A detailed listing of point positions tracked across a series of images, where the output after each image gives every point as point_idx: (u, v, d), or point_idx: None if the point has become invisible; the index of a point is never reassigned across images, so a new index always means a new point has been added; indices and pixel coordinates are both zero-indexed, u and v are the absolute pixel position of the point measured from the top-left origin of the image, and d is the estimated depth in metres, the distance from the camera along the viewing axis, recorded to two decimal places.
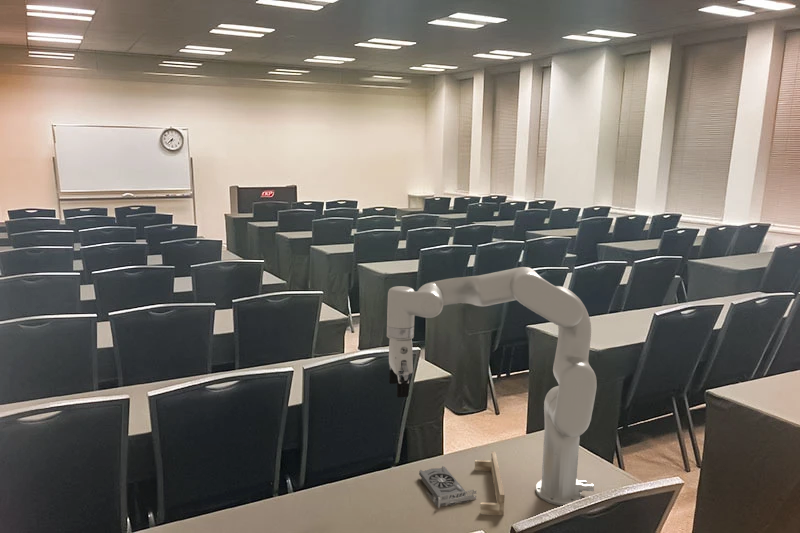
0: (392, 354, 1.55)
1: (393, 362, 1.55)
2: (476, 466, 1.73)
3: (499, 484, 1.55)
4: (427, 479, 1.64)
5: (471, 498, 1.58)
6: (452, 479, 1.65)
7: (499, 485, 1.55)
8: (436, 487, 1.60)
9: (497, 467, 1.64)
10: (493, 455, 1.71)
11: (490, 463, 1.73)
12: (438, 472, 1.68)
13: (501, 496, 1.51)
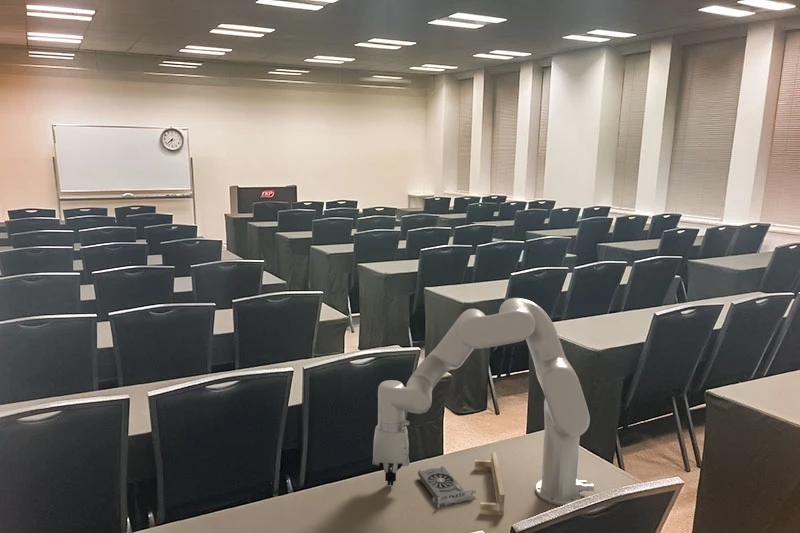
0: (395, 448, 1.60)
1: (399, 454, 1.60)
2: (476, 466, 1.73)
3: (499, 484, 1.55)
4: (426, 479, 1.64)
5: (470, 498, 1.58)
6: (451, 479, 1.66)
7: (499, 485, 1.55)
8: (435, 487, 1.60)
9: (497, 467, 1.64)
10: (493, 455, 1.71)
11: (490, 463, 1.73)
12: (437, 472, 1.68)
13: (501, 496, 1.51)
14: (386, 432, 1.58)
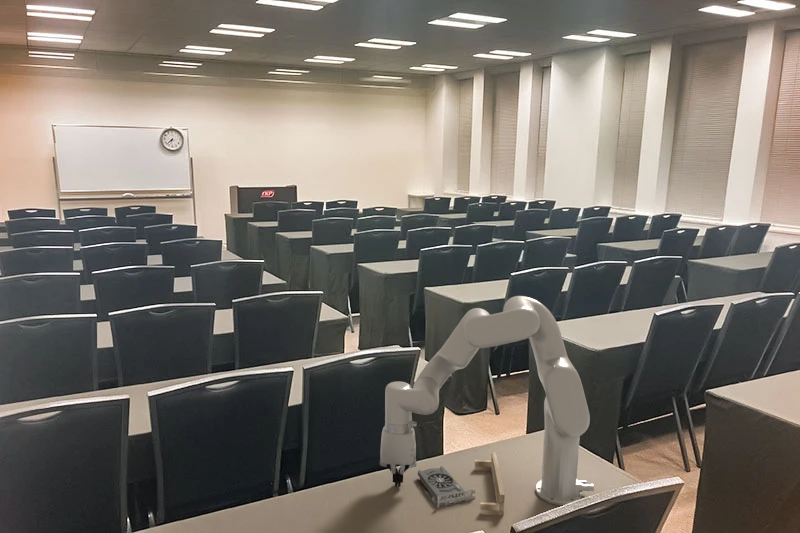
0: (403, 449, 1.60)
1: (406, 455, 1.60)
2: (476, 466, 1.73)
3: (499, 484, 1.55)
4: (426, 479, 1.64)
5: (470, 498, 1.59)
6: (451, 479, 1.66)
7: (499, 485, 1.55)
8: (435, 487, 1.60)
9: (497, 467, 1.64)
10: (493, 455, 1.71)
11: (490, 463, 1.73)
12: (436, 472, 1.68)
13: (501, 496, 1.51)
14: (393, 433, 1.58)
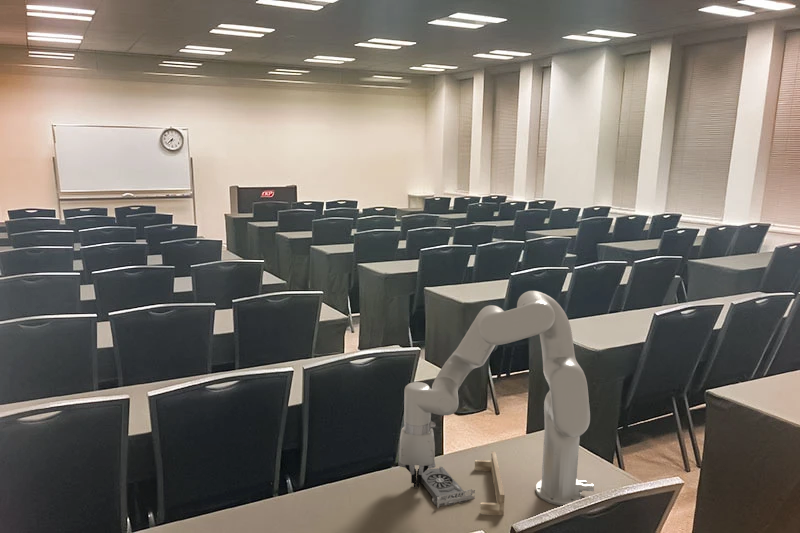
0: (422, 450, 1.59)
1: (425, 456, 1.60)
2: (476, 466, 1.73)
3: (499, 484, 1.55)
4: (425, 479, 1.64)
5: (470, 498, 1.59)
6: (450, 479, 1.66)
7: (499, 485, 1.55)
8: (435, 487, 1.60)
9: (497, 467, 1.64)
10: (493, 455, 1.71)
11: (490, 463, 1.73)
12: (436, 472, 1.68)
13: (501, 496, 1.51)
14: (413, 434, 1.57)
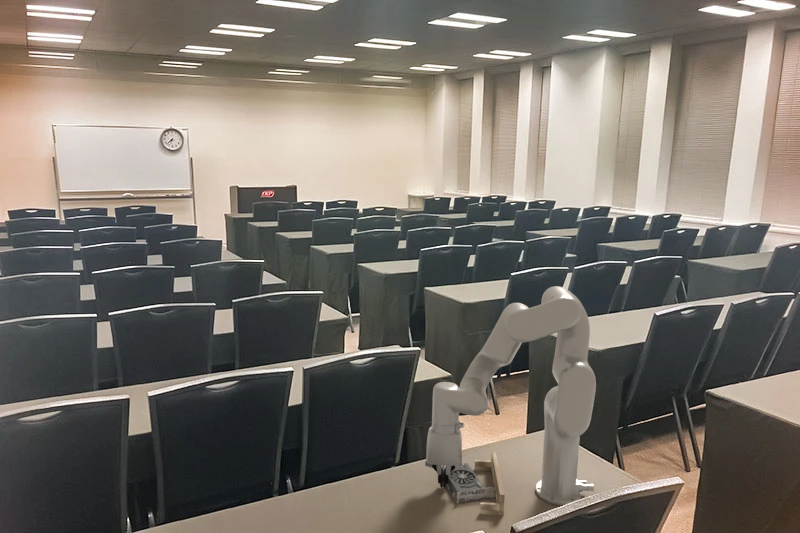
0: (450, 450, 1.59)
1: (453, 456, 1.59)
2: (476, 466, 1.73)
3: (499, 484, 1.55)
4: None
5: (490, 495, 1.60)
6: (473, 476, 1.67)
7: (499, 485, 1.55)
8: (456, 483, 1.62)
9: (497, 467, 1.64)
10: (493, 455, 1.71)
11: (490, 463, 1.73)
12: (460, 468, 1.70)
13: (501, 496, 1.51)
14: (441, 434, 1.57)
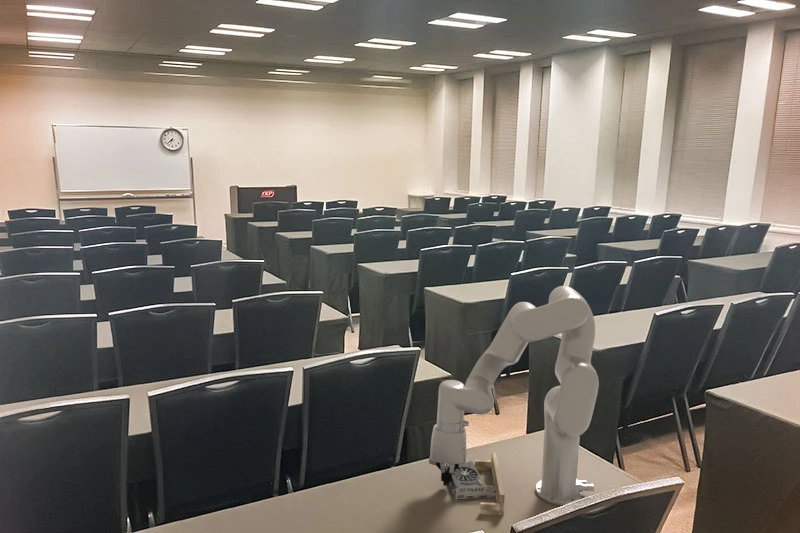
0: (454, 448, 1.59)
1: (457, 454, 1.59)
2: (476, 466, 1.73)
3: (499, 484, 1.55)
4: None
5: (490, 494, 1.60)
6: (476, 474, 1.68)
7: (499, 485, 1.55)
8: (457, 479, 1.63)
9: (497, 467, 1.64)
10: (493, 455, 1.71)
11: (490, 463, 1.73)
12: (464, 466, 1.71)
13: (501, 496, 1.51)
14: (446, 432, 1.57)
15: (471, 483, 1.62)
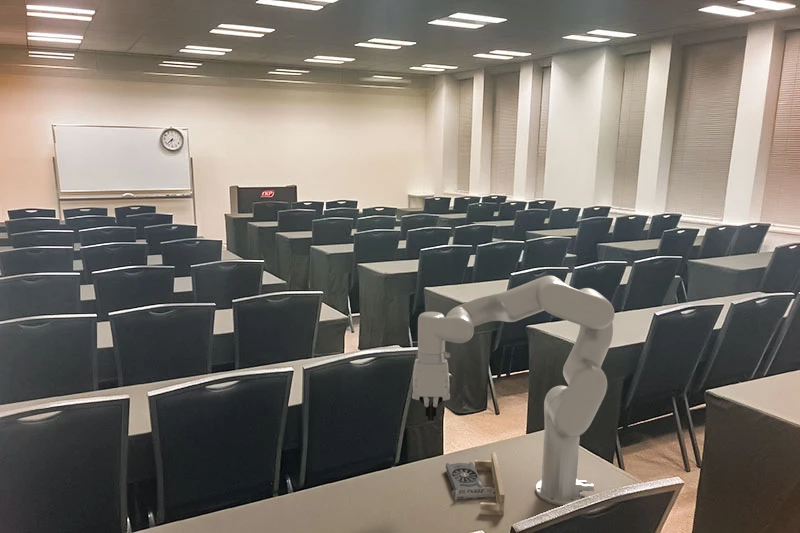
0: (436, 380, 1.55)
1: (440, 387, 1.56)
2: (476, 466, 1.73)
3: (499, 484, 1.55)
4: (450, 472, 1.68)
5: (490, 495, 1.60)
6: (476, 475, 1.68)
7: (499, 485, 1.55)
8: (457, 480, 1.63)
9: (497, 467, 1.64)
10: (493, 455, 1.71)
11: (490, 463, 1.73)
12: (464, 467, 1.71)
13: (501, 496, 1.51)
14: (427, 363, 1.54)
15: (471, 484, 1.62)
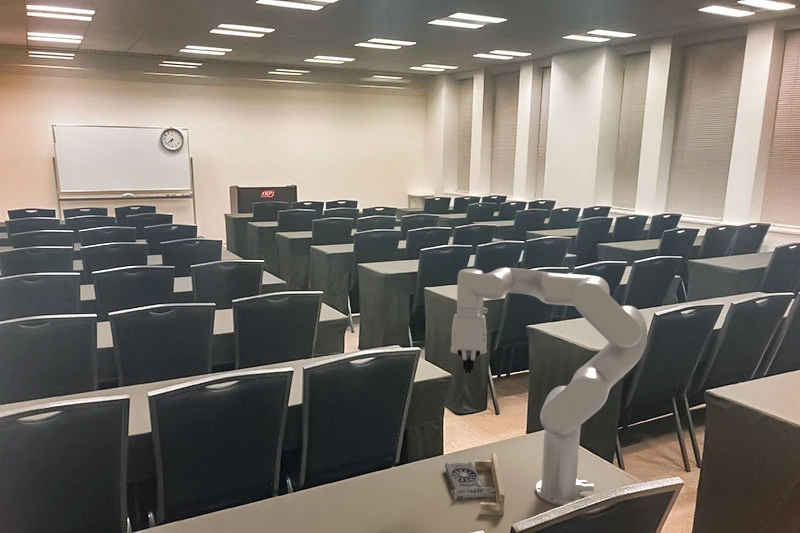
0: (475, 334, 1.63)
1: (478, 340, 1.63)
2: (476, 466, 1.73)
3: (499, 484, 1.55)
4: (450, 472, 1.68)
5: (489, 495, 1.60)
6: (475, 475, 1.68)
7: (499, 485, 1.55)
8: (456, 480, 1.63)
9: (497, 467, 1.64)
10: (493, 455, 1.71)
11: (490, 463, 1.73)
12: (463, 467, 1.71)
13: (501, 496, 1.51)
14: (466, 317, 1.61)
15: (470, 484, 1.62)
